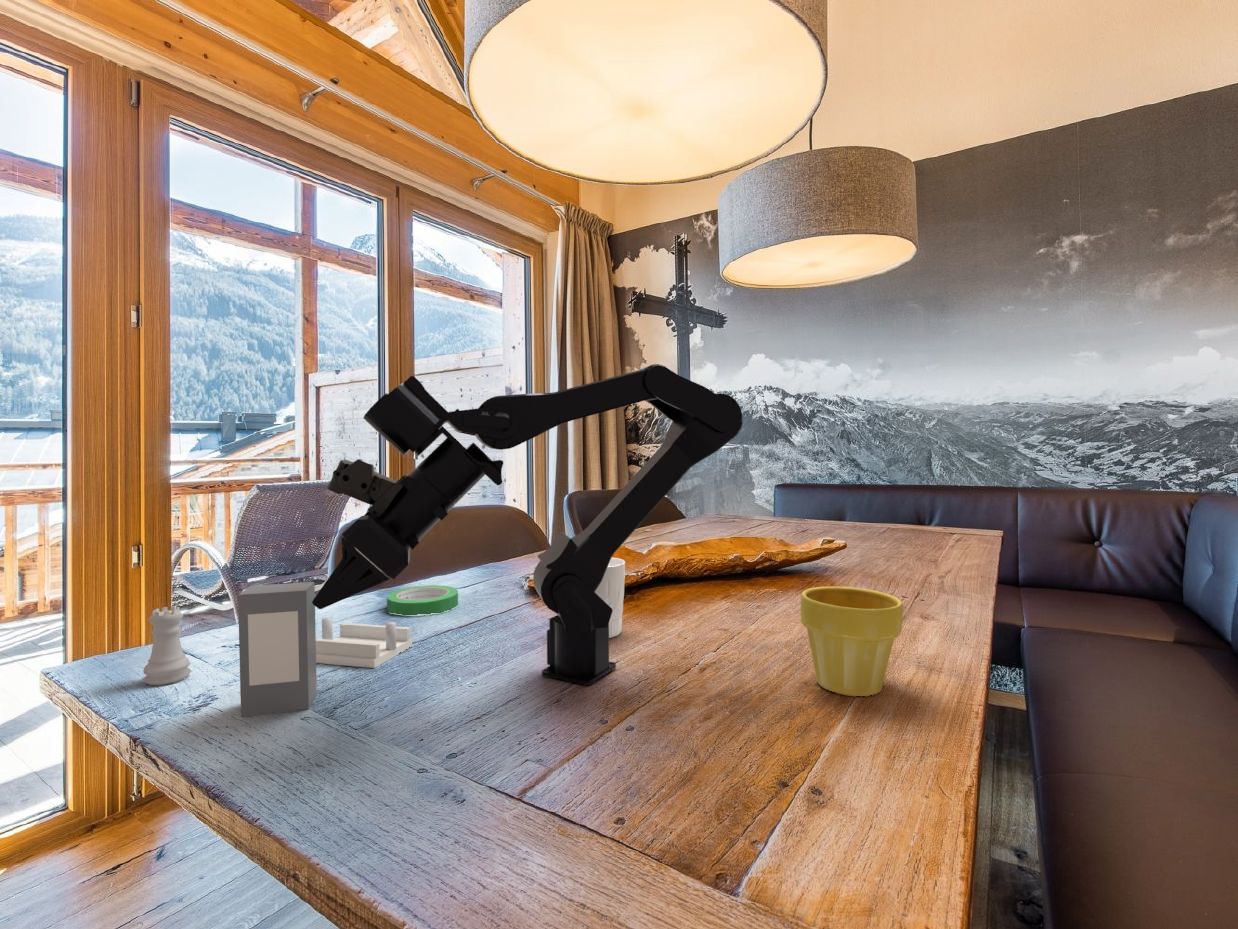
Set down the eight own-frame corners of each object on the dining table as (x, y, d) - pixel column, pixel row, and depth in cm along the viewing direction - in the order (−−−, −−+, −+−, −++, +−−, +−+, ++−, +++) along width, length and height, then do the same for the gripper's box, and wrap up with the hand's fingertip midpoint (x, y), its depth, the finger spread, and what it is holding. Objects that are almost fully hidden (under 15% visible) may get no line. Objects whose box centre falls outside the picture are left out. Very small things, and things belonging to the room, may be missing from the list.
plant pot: (897, 674, 70) (898, 589, 70) (906, 711, 60) (907, 612, 60) (802, 663, 73) (803, 582, 73) (797, 696, 64) (797, 603, 63)
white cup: (595, 621, 91) (594, 554, 91) (636, 631, 86) (636, 560, 86) (557, 633, 85) (557, 562, 85) (600, 645, 80) (599, 569, 80)
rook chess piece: (201, 674, 71) (199, 605, 71) (163, 688, 66) (161, 616, 66) (171, 670, 72) (169, 603, 72) (132, 684, 68) (130, 613, 67)
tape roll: (419, 622, 92) (418, 605, 92) (372, 612, 98) (371, 596, 98) (472, 606, 102) (472, 590, 101) (426, 597, 107) (426, 582, 107)
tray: (413, 646, 80) (412, 614, 80) (376, 668, 72) (375, 633, 72) (344, 641, 82) (343, 610, 82) (300, 661, 75) (300, 627, 75)
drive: (316, 693, 65) (314, 581, 65) (308, 709, 61) (306, 590, 61) (253, 700, 63) (250, 585, 63) (240, 717, 60) (237, 594, 59)
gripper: (386, 434, 73) (285, 529, 70) (367, 430, 55) (230, 558, 52) (455, 498, 75) (359, 593, 73) (458, 515, 57) (332, 641, 55)
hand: (324, 594), depth 63 cm, fingers open, 9 cm apart
